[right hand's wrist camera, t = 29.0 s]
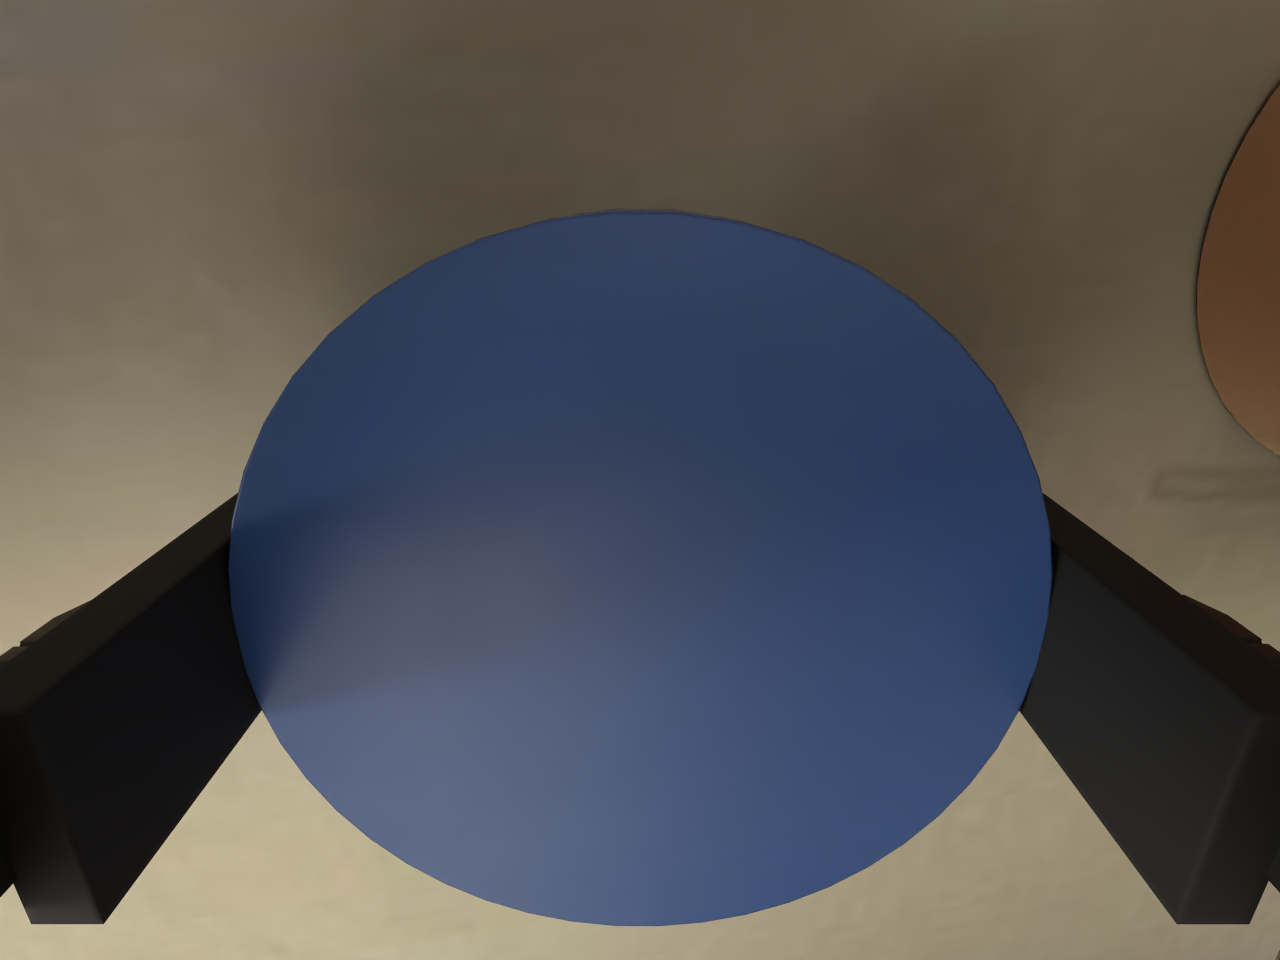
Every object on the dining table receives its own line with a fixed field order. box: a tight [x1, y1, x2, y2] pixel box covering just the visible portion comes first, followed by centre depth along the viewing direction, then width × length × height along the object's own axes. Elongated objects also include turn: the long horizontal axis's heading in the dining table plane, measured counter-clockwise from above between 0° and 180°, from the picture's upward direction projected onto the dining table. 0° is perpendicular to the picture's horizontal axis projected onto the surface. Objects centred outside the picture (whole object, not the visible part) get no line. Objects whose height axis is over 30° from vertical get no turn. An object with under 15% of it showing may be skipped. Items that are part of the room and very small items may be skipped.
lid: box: [228, 209, 1053, 926], centre depth 11 cm, size 11×11×2 cm
